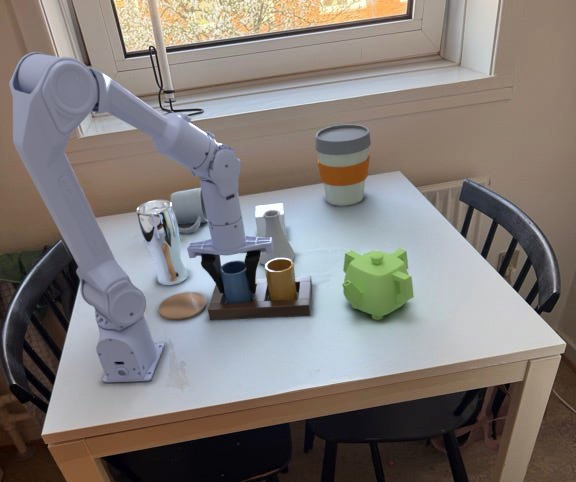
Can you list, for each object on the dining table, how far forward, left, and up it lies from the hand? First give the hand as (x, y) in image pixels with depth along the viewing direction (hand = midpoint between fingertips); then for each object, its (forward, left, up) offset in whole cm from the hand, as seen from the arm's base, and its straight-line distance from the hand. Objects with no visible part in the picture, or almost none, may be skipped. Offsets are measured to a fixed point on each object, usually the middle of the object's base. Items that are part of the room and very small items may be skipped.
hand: (238, 289), depth 99 cm
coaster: (0, +11, -3) cm, 11 cm away
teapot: (-3, -24, -3) cm, 25 cm away
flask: (+16, -5, -3) cm, 17 cm away
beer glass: (+11, +16, -3) cm, 19 cm away
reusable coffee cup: (+45, -19, -3) cm, 49 cm away
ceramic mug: (+36, +17, -3) cm, 40 cm away
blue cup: (0, 0, -3) cm, 3 cm away
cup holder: (0, -4, -3) cm, 5 cm away
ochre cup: (0, -8, -3) cm, 9 cm away
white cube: (+27, -3, -3) cm, 27 cm away
